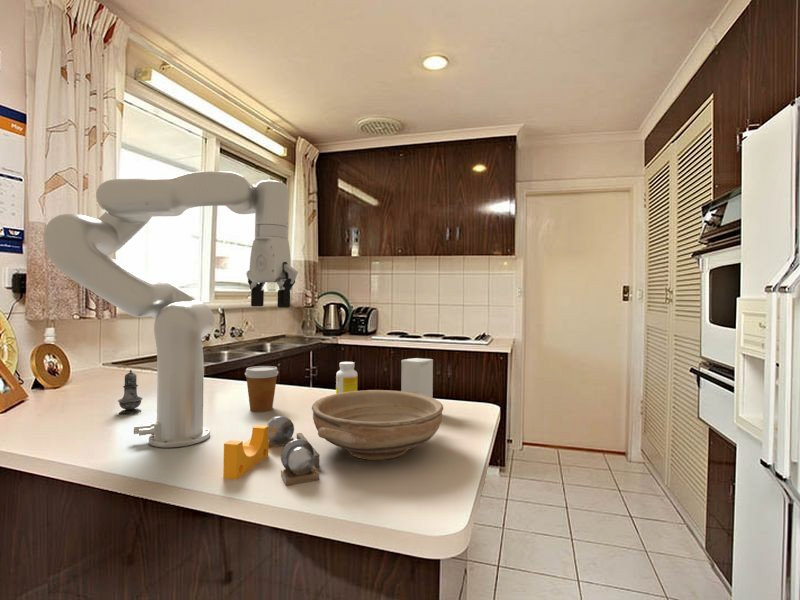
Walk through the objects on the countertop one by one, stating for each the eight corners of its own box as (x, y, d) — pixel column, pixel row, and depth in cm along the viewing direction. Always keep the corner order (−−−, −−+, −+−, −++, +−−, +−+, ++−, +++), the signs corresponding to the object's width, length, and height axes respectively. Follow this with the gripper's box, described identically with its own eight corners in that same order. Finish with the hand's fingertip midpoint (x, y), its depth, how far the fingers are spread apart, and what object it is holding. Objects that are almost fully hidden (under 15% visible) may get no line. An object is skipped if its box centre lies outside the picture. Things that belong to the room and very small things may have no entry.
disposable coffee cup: (259, 415, 120) (259, 372, 120) (237, 410, 125) (237, 368, 125) (285, 407, 128) (285, 367, 128) (263, 403, 133) (263, 364, 133)
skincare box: (418, 418, 119) (419, 362, 119) (398, 414, 123) (399, 359, 122) (433, 411, 126) (434, 358, 126) (414, 408, 130) (415, 356, 129)
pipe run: (285, 485, 75) (286, 449, 75) (263, 441, 98) (263, 413, 98) (327, 478, 79) (327, 443, 79) (295, 436, 102) (296, 409, 101)
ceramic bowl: (367, 419, 117) (368, 382, 117) (467, 435, 104) (467, 394, 104) (267, 464, 85) (268, 414, 85) (395, 498, 71) (396, 438, 71)
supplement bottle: (361, 403, 135) (362, 362, 135) (348, 407, 129) (348, 365, 129) (345, 400, 138) (345, 360, 138) (331, 404, 133) (331, 363, 133)
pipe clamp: (249, 454, 90) (249, 424, 90) (268, 456, 90) (268, 425, 89) (214, 478, 78) (215, 442, 78) (236, 480, 78) (236, 444, 78)
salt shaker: (112, 413, 119) (113, 370, 119) (132, 408, 125) (133, 367, 125) (127, 415, 117) (127, 372, 117) (147, 410, 123) (147, 368, 122)
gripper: (235, 235, 103) (234, 306, 103) (283, 229, 93) (281, 308, 93) (261, 239, 109) (260, 305, 110) (308, 234, 100) (307, 308, 100)
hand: (270, 306), depth 102 cm, fingers open, 9 cm apart
